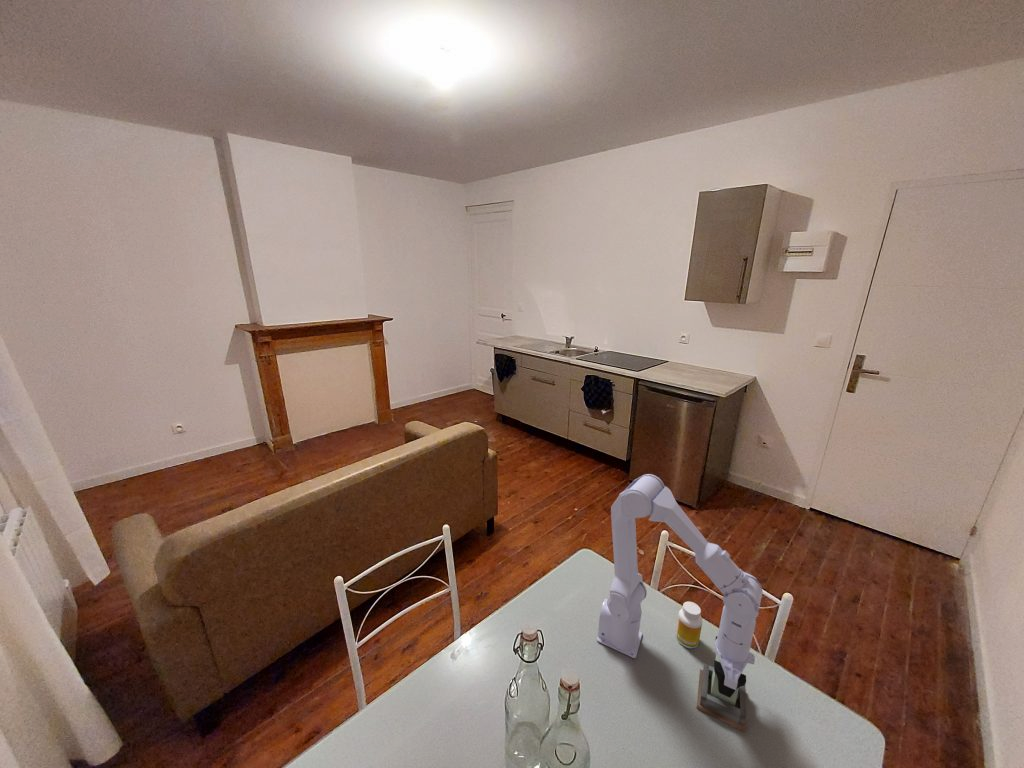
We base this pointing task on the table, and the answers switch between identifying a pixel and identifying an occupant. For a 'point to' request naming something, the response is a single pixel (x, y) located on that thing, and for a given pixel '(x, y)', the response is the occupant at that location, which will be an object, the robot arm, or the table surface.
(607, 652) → the table surface
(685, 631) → the supplement bottle
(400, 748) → the table surface
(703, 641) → the table surface
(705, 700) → the grey square socket
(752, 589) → the robot arm
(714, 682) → the peg
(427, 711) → the table surface
